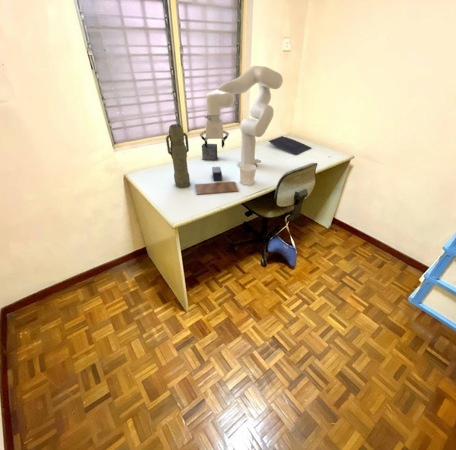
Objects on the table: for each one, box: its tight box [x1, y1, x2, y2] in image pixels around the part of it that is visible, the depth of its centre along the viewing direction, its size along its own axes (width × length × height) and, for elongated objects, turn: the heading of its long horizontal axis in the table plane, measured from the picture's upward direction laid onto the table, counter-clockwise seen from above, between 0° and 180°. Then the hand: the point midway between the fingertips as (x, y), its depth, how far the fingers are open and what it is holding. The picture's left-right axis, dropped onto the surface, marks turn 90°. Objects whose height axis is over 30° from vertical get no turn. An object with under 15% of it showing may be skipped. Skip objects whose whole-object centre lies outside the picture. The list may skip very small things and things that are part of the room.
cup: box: [239, 164, 257, 186], centre depth 154 cm, size 10×10×10 cm
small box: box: [201, 143, 218, 161], centre depth 185 cm, size 11×6×10 cm, turn 84°
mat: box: [195, 181, 239, 196], centre depth 150 cm, size 24×12×1 cm, turn 101°
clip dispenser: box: [211, 166, 223, 182], centre depth 160 cm, size 5×8×6 cm, turn 11°
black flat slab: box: [268, 135, 312, 156], centre depth 210 cm, size 24×30×4 cm
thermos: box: [165, 123, 191, 189], centre depth 143 cm, size 9×12×35 cm
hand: (214, 147), depth 152 cm, fingers open, 9 cm apart
